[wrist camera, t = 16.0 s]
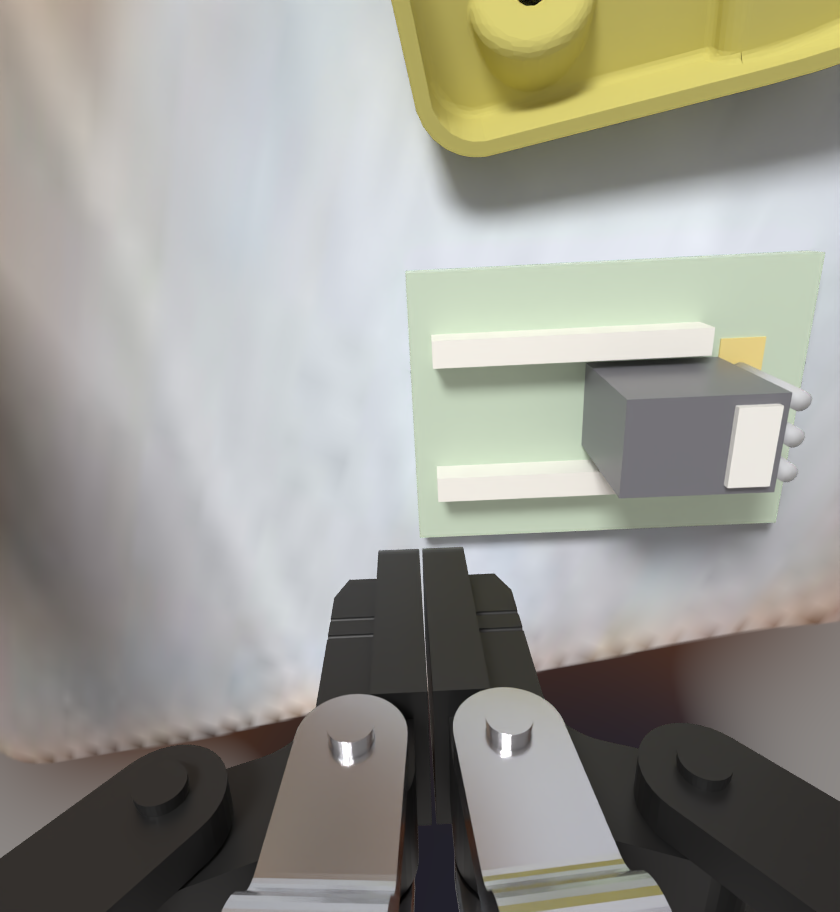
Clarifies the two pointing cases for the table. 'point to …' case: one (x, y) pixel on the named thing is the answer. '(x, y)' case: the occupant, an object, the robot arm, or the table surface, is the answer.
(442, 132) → the plastic component
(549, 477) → the board
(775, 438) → the plug
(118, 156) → the table surface
